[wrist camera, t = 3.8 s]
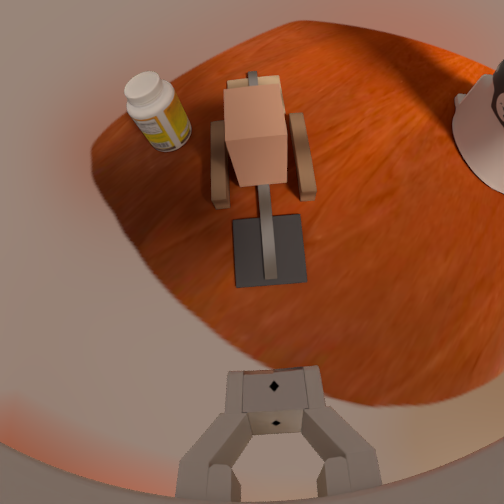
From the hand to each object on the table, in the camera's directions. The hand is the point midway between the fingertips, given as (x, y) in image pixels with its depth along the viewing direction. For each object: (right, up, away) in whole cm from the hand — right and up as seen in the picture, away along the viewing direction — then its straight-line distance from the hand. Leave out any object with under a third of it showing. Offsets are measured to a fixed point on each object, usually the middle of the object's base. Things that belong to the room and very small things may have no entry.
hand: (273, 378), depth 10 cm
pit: (+1, +4, +21) cm, 21 cm away
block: (0, +14, +23) cm, 27 cm away
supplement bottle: (-11, +19, +26) cm, 34 cm away
